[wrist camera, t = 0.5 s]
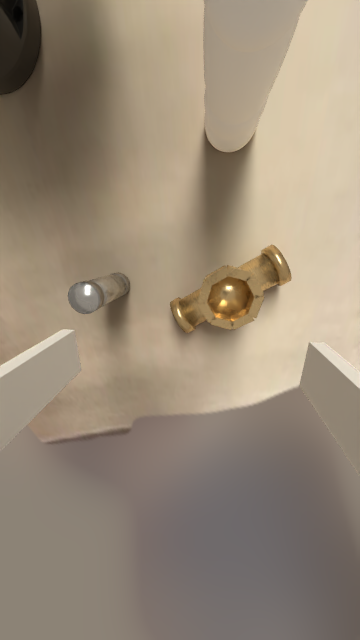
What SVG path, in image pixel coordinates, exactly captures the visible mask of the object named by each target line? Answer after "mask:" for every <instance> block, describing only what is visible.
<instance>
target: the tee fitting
mask: <svg viewBox="0 0 360 640" xmlns="http://www.w3.org/2000/svg"><path fill="white" fill-rule="evenodd" d="M289 281H291V273H290V269H289V267H288V264H287V262H286V260H285V259H284V257H283V255H282V254H281V252H280V251H279V250H278V249H277V247H275V246H274V245H270V246H268V247H267V248H265V249H263V250H262V251H261V255H259V256H258V257H256V258H254V259H252V260H250V261H249V262H247V263H245V264H243V265H241V266H240V267H238V268H237V267H233V266H229V265H227V267H226V266H223V267H221V268H219V269H218V270H216V271H214V272H212V273H211V274H209V275H207V276H206V279H205V278H204V280H203V284H202V287H201V288H200V289H199V290H197V291H195V292H193V293H191V294H190V295H188V296H186V297H184V298H183V299H181V298H179V297H178V298H176V299H175V300H173V301H171V302H170V307H171V311H172V313H173V316H174V318H175V320H176V321H177V323H178V325H179V326H180V327H181V329H182V330H183V331H184V332H186V333H189V332H191V331H193V330H195V329H196V325H198V324H200V323H202V322H204V321H206V320H207V321H208V323H209V322H210V324H211V325H214V326H218V327H221V328H225V329H229V330H231V329H232V327H233V329H234V330H235V329H237V328H239V327H241V326H243V325H245V324H247V323H249V322H252V321H254V319H253V318H256V317H257V315H258V312H259V310H260V307H261V305H262V302H263V300H264V297H263V296H262V295H264V293H263V291H264V290H266V289H268V288H270V287H272V286H274V285H276V284H278V285H279V286H281V285H283V284H285V283H287V282H289Z"/></svg>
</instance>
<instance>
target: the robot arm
mask: <svg viewBox="0 0 360 640" xmlns="http://www.w3.org/2000/svg"><path fill="white" fill-rule="evenodd" d="M39 45H40V20H39V13H38V8H37V4H36V0H0V94H6V93H10V92H12V91H14V90H16V89H18V88H19V87H20V86H21V85H23V84H24V83H25V81H26V80H27V79H28V77H29V76H30V74H31V72H32V70H33V68H34V66H35V63H36V60H37V56H38V52H39ZM80 371H81V364H80V358H79V352H78V346H77V340H76V334H75V330H66V329H62V330H61V331H59V332H57V333H55V334H54V335H52V336H50V337H49V338H47V339H45V340H43V341H42V342H40V343H38V344H37V345H35V346H33V347H31V348H30V349H28V350H26V351H25V352H23V353H21V354H19V355H18V356H16V357H14V358H13V359H11V360H9V361H7V362H6V363H4V364H2V365H1V366H0V451H1V450H2V449H3V448H4V447H5V446H6V445H7V444H8V443H9V442H10V441H11V440H12V439H13V438H14V437H15V436H16V435H17V434H18V433H19V432H20V431H21V430H22V429H23V428H24V427H25V426H26V425H27V424H28V423H29V422H30V421H31V420H32V419H33V418H34V417H35V416H36V415H37V414H38V413H39V412H40V411H41V410H42V409H43V408H44V407H45V406H46V405H47V404H48V403H49V402H50V401H51V400H52V399H53V398H54V397H55V396H56V395H57V394H58V393H59V392H60V391H61V390H62V389H63V388H64V387H65V386H66V385H67V384H68V383H69V382H70V381H71V380H72V379H73V378H74V377H75V376H76V375H77V374H78V373H79V372H80ZM299 386H300V388H301V389H302V391H303V392H304V394H305V395H306V397H307V398H308V400H309V401H310V403H311V404H312V406H313V407H314V409H315V410H316V412H317V413H318V415H319V416H320V418H321V419H322V421H323V422H324V424H325V425H326V427H327V428H328V430H329V431H330V433H331V434H332V436H333V437H334V439H335V440H336V442H337V443H338V445H339V446H340V448H341V449H342V451H343V452H344V454H345V455H346V457H347V458H348V460H349V461H350V463H351V464H352V466H353V467H354V469H355V470H356V472H357V473H358V475H359V476H360V371H359V370H358V369H356V368H355V367H354V366H353V365H351V364H350V363H349V362H348V361H347V360H345V359H344V358H343V357H342V356H340V355H339V354H338V353H337V352H335V351H334V350H333V349H332V348H331V347H329V346H328V345H327V344H326V343H319V342H309V345H308V350H307V354H306V359H305V363H304V368H303V372H302V376H301V381H300V385H299Z"/></svg>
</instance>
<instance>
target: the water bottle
mask: <svg viewBox="0 0 360 640" xmlns="http://www.w3.org/2000/svg"><path fill="white" fill-rule="evenodd" d="M307 1H308V0H204V4H205V8H204V37H203V49H204V78H205V95H204V104H205V131H206V135H207V138H208V140H209V142H210V143H211V144H212V146H214V147H215V148H216V149H217V150H219V151H222V152H234V151H237V150H239V149H241V148H242V147H244V146H245V145H246V144H247V143H248V142H249V140H250V139H251V138H252V136H253V134H254V132H255V130H256V128H257V125H258V122H259V119H260V116H261V114H262V112H263V110H264V107H265V105H266V102H267V98H268V94H269V92H270V90H271V88H272V86H273V84H274V82H275V80H276V77H277V75H278V73H279V70H280V68H281V66H282V63H283V61H284V58H285V56H286V53H287V51H288V48H289V45H290V43H291V40H292V37H293V34H294V31H295V29H296V26H297V23H298V20H299V16H300V13H301V12H302V10H303V8H304V7H305V5H306V3H307Z"/></svg>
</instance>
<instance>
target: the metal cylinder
mask: <svg viewBox="0 0 360 640" xmlns="http://www.w3.org/2000/svg"><path fill="white" fill-rule="evenodd" d="M129 288H130V282H129V280H128V278H127V277H126V276H125V275H124V274H121V273H114V274H110V275H107V276H104V277H100V278H96V279H92V280H89V281H83V282H79V283H76V284H74V285H73V286H72V287H71V288H70V289H69V292H68V300H69V303H70V305H71V306H72V307H73V309H75V310H76V311H77V312H79V313H82V314H89V313H92V312H94V311H96V310H98V309H99V308H101V307H102V306H104V305H106V304H108V303H110V302H111V301H113V300H115V299H117V298H119V297H121V296H123V295H125V294H126V293H127V292H128V291H129Z"/></svg>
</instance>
